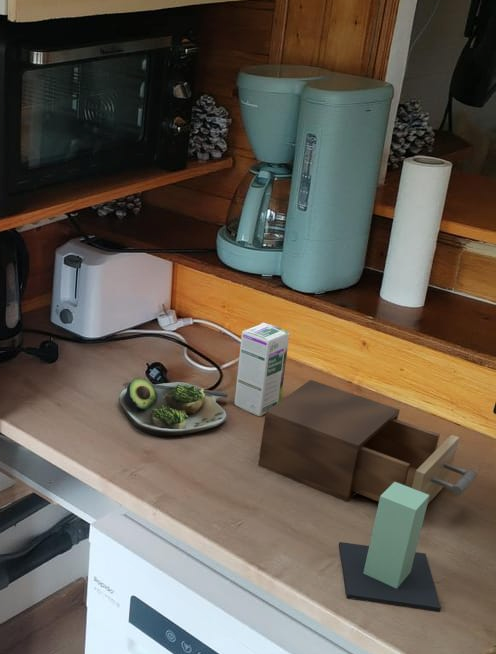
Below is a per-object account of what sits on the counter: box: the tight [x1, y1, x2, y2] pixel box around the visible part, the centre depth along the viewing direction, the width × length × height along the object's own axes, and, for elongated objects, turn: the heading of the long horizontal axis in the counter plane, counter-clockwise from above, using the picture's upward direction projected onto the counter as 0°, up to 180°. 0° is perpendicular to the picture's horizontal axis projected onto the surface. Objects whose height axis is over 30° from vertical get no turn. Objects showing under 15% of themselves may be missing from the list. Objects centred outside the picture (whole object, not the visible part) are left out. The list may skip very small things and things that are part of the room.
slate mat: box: [338, 541, 442, 612], centre depth 117 cm, size 11×11×1 cm
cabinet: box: [257, 379, 400, 503], centre depth 139 cm, size 15×15×10 cm
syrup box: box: [233, 322, 291, 417], centre depth 155 cm, size 6×6×14 cm
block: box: [364, 482, 430, 589], centre depth 114 cm, size 4×4×12 cm
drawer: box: [351, 418, 478, 506], centre depth 132 cm, size 18×13×8 cm
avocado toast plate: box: [118, 378, 229, 437], centre depth 155 cm, size 19×18×5 cm
